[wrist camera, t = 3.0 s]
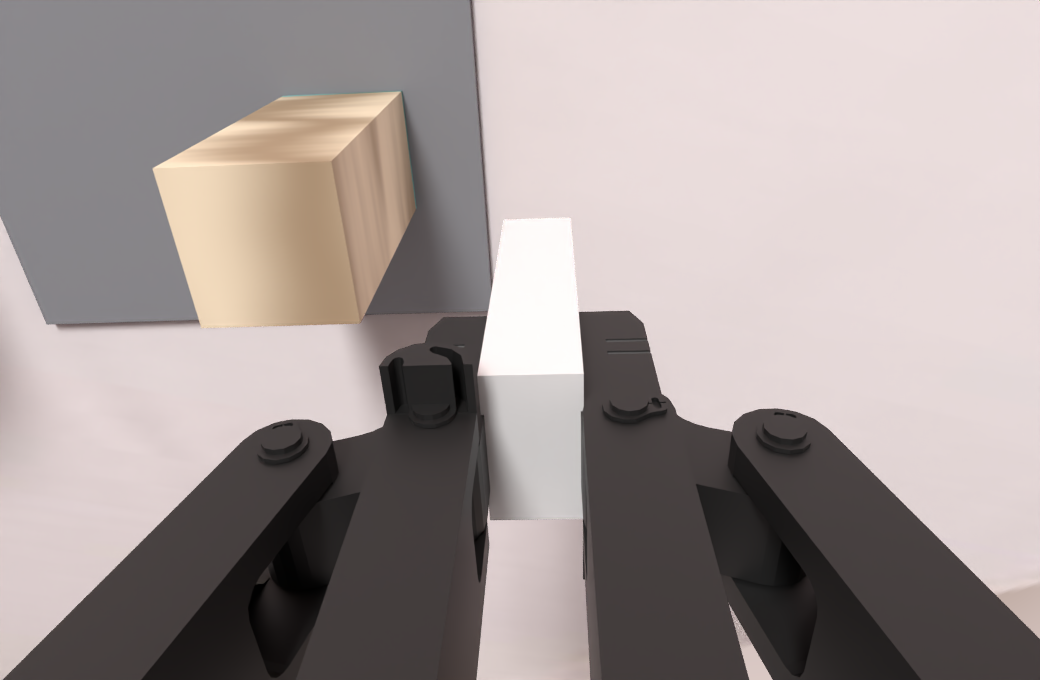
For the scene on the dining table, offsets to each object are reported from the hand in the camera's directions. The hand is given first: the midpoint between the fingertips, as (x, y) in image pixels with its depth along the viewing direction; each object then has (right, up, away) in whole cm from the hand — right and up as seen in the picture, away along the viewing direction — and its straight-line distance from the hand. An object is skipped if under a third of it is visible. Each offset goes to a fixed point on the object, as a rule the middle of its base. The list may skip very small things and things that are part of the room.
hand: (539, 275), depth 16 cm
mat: (-12, +8, +11) cm, 18 cm away
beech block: (-7, +6, +11) cm, 14 cm away
